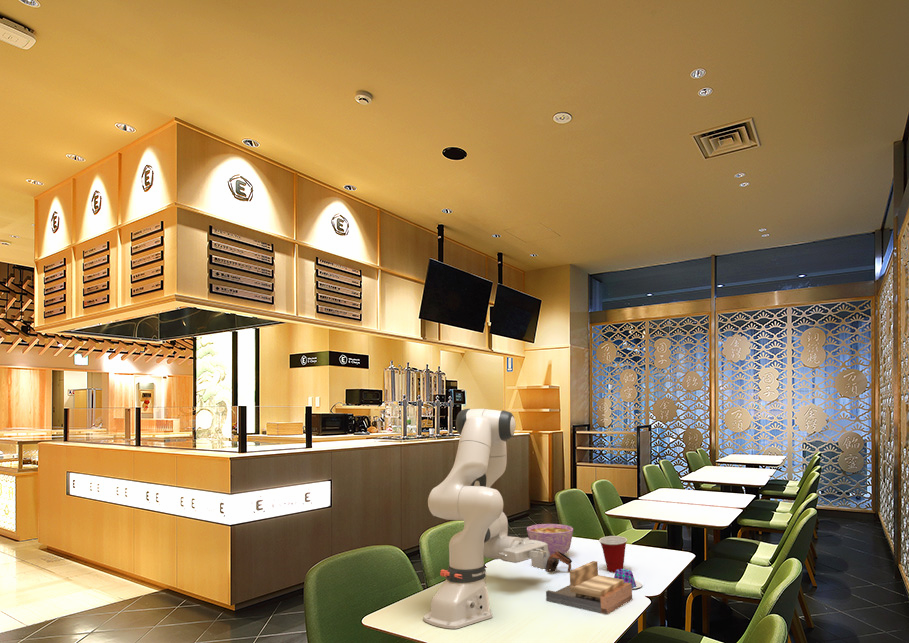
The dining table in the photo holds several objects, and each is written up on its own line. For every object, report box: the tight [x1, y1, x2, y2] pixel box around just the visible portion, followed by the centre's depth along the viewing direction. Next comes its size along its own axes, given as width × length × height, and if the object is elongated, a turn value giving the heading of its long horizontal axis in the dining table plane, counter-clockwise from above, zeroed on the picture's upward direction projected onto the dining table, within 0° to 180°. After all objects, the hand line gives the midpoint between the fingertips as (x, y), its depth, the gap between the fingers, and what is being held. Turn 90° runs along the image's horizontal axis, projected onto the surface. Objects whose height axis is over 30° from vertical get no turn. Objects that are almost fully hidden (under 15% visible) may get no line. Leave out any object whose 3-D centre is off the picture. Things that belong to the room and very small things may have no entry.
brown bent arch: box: [545, 551, 573, 573], centre depth 233 cm, size 12×10×8 cm
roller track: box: [545, 583, 633, 615], centre depth 198 cm, size 18×22×5 cm
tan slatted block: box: [569, 560, 624, 601], centre depth 196 cm, size 16×11×9 cm
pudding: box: [613, 568, 643, 590], centre depth 213 cm, size 12×12×5 cm
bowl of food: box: [526, 523, 574, 555], centre depth 256 cm, size 20×20×12 cm
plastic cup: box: [598, 535, 628, 574], centre depth 232 cm, size 11×11×12 cm
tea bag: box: [530, 540, 550, 570], centre depth 240 cm, size 4×7×10 cm, turn 37°
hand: (544, 554), depth 210 cm, fingers closed
